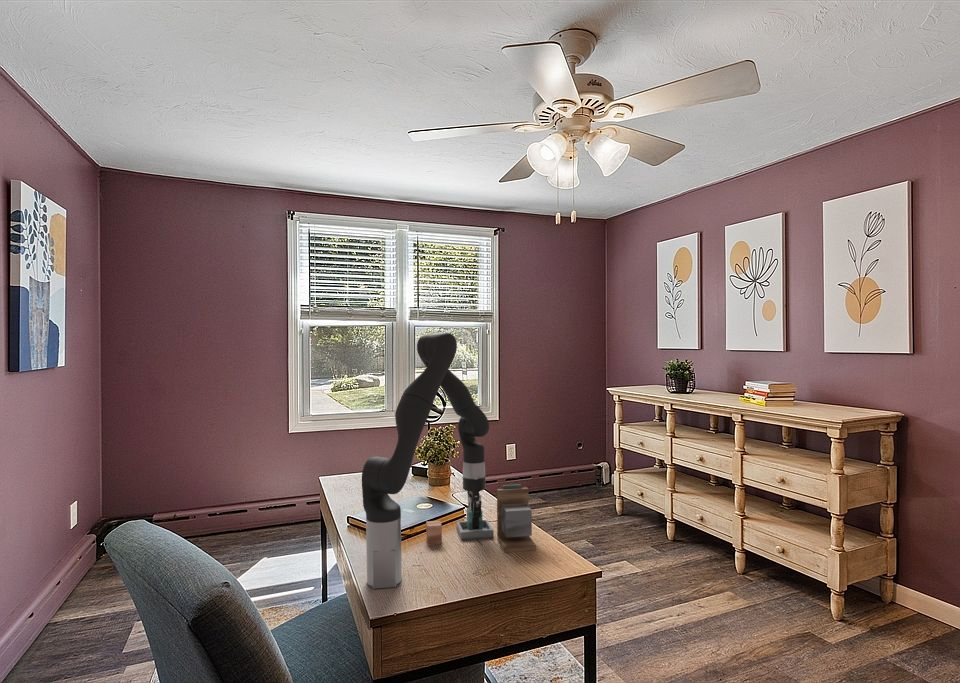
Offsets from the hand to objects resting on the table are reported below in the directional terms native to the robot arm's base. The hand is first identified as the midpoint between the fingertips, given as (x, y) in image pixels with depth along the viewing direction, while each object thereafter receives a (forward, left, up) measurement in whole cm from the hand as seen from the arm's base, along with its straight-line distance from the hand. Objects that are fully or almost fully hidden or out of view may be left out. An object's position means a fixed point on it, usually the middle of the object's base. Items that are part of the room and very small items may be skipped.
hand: (474, 525), depth 189 cm
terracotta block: (-5, +14, -2) cm, 15 cm away
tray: (0, 0, -2) cm, 2 cm away
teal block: (0, 0, -1) cm, 1 cm away
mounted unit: (-13, -11, -2) cm, 17 cm away
